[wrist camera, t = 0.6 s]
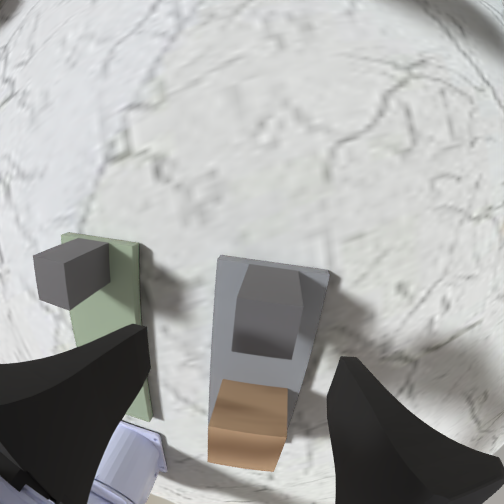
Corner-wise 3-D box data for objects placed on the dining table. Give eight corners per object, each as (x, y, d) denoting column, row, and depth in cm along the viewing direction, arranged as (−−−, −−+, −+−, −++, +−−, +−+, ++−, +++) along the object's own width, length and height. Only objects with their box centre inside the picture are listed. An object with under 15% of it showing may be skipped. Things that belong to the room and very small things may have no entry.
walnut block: (276, 426, 21) (273, 471, 16) (219, 418, 21) (207, 461, 17) (287, 388, 20) (286, 437, 15) (222, 378, 20) (208, 426, 15)
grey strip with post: (281, 440, 23) (278, 489, 17) (210, 430, 23) (196, 477, 18) (327, 269, 18) (345, 311, 12) (220, 254, 18) (193, 290, 13)
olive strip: (152, 415, 24) (131, 457, 18) (96, 395, 24) (69, 430, 18) (138, 242, 19) (89, 269, 13) (68, 232, 19) (16, 251, 14)
